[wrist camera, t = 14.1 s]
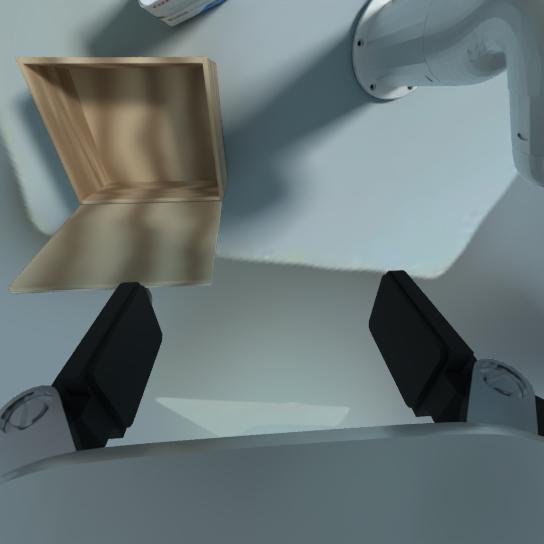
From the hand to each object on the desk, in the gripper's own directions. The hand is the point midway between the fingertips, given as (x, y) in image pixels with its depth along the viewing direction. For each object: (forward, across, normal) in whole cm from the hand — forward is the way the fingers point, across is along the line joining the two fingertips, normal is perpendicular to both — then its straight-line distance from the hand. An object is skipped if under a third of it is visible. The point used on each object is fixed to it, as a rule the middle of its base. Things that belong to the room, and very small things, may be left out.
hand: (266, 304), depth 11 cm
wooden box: (+38, +15, -2) cm, 41 cm away
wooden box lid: (+21, +15, +7) cm, 27 cm away
